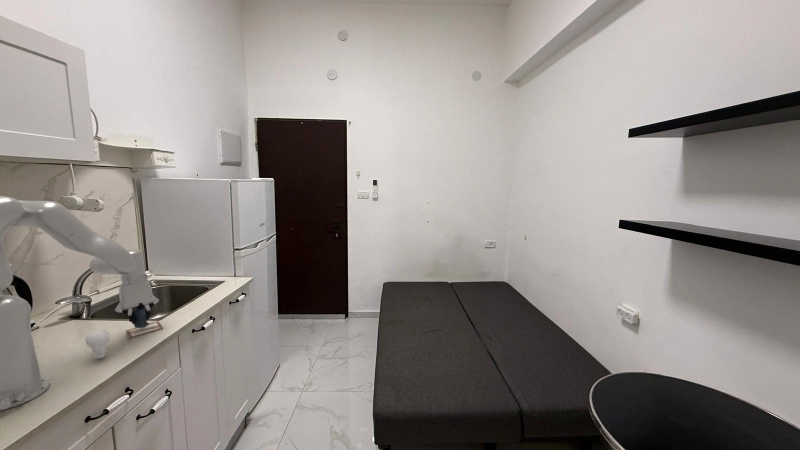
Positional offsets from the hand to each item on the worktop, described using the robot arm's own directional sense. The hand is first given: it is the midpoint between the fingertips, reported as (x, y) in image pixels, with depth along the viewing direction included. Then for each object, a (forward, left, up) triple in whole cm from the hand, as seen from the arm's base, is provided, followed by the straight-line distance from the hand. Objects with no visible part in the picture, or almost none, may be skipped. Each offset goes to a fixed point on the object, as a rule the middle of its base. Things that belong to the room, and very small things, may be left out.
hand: (140, 320), depth 123 cm
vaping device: (0, 0, -3) cm, 3 cm away
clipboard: (+1, -1, -5) cm, 6 cm away
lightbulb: (-13, +13, -5) cm, 19 cm away
